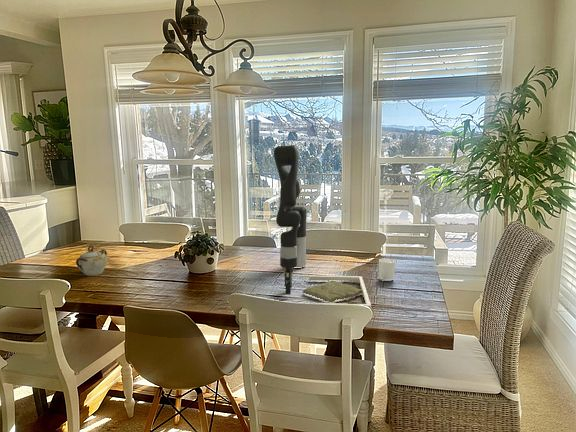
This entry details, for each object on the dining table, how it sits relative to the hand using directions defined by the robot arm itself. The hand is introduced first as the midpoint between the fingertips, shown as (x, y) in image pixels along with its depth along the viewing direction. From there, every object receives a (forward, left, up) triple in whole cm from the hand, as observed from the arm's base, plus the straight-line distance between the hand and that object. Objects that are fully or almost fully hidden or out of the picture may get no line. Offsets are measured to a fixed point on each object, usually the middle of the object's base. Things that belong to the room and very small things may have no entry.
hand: (288, 290), depth 184 cm
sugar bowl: (-24, -104, -2) cm, 107 cm away
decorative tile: (0, +20, -2) cm, 20 cm away
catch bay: (0, +21, -2) cm, 21 cm away
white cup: (-23, +47, -2) cm, 52 cm away
